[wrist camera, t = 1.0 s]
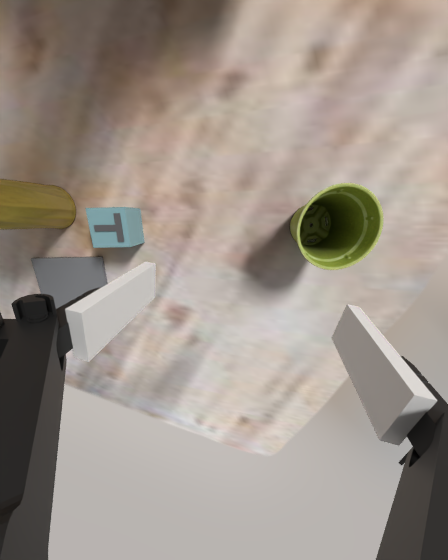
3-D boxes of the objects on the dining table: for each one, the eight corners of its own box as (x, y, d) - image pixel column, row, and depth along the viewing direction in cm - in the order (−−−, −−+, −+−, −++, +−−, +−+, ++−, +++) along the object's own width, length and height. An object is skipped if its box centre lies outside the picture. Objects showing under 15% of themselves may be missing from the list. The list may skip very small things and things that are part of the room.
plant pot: (345, 247, 32) (386, 258, 24) (284, 263, 33) (304, 278, 25) (337, 183, 30) (381, 171, 21) (272, 203, 31) (290, 197, 22)
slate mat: (34, 257, 33) (30, 258, 33) (102, 256, 33) (100, 257, 33) (52, 319, 37) (49, 321, 36) (114, 319, 36) (112, 320, 36)
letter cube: (107, 209, 31) (84, 208, 26) (140, 208, 31) (124, 207, 26) (112, 243, 33) (92, 247, 28) (144, 242, 33) (130, 247, 28)
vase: (81, 227, 32) (-28, 236, 18) (41, 229, 32) (-96, 239, 18) (71, 184, 30) (-58, 157, 16) (29, 186, 30) (-133, 161, 17)
